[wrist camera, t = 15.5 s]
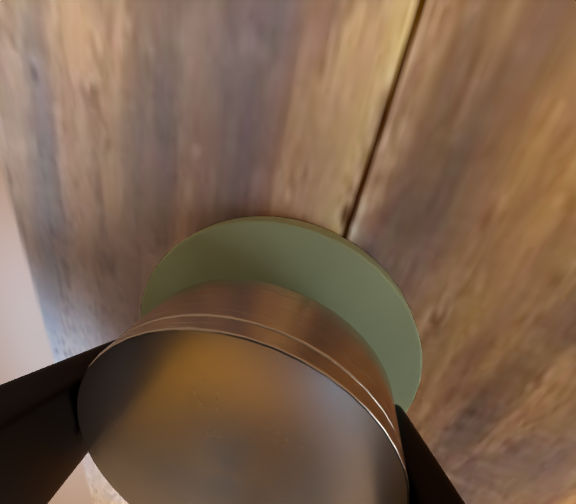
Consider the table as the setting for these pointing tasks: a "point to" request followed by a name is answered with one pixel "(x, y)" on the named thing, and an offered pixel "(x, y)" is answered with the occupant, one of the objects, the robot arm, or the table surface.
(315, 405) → the jam lid
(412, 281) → the table surface
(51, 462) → the robot arm
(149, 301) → the coaster
